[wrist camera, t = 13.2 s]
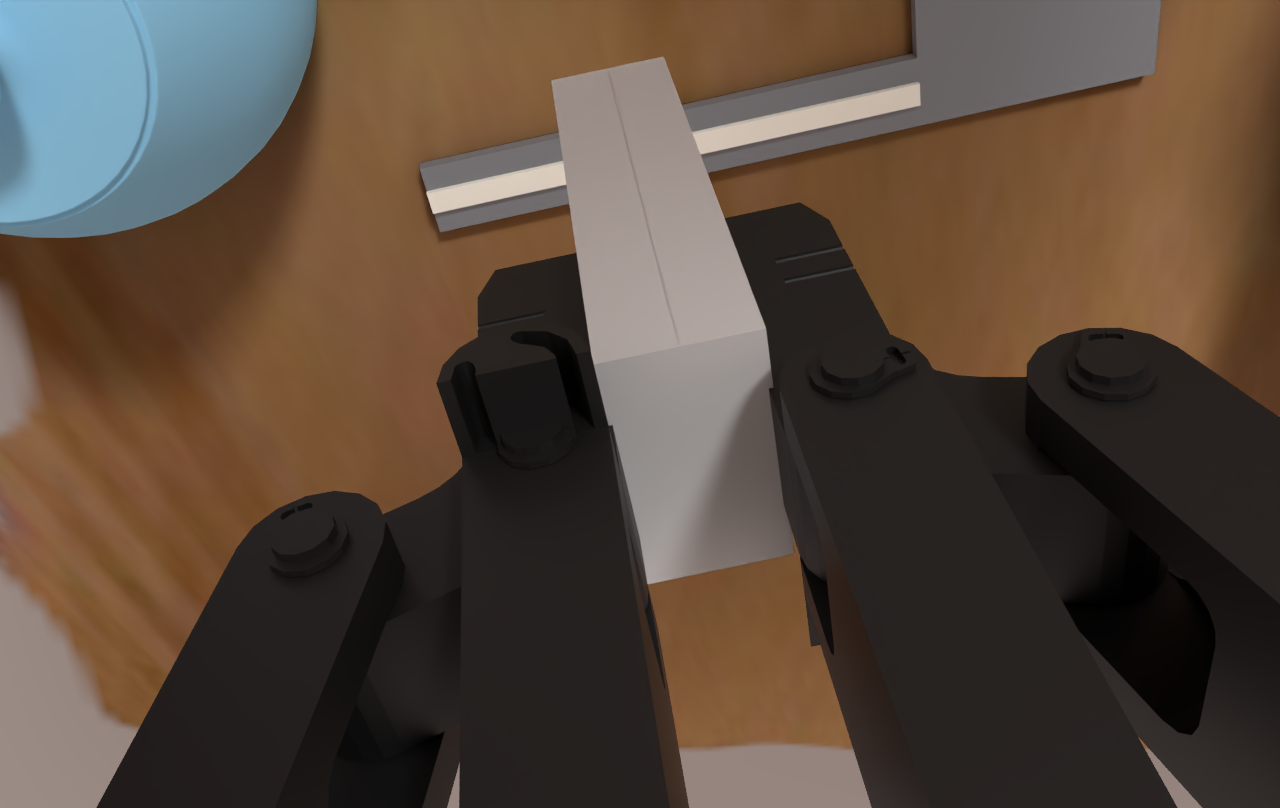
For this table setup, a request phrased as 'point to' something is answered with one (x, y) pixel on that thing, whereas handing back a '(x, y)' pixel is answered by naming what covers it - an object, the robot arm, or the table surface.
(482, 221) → the label board
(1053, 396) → the robot arm
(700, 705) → the table surface
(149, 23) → the sugar bowl
